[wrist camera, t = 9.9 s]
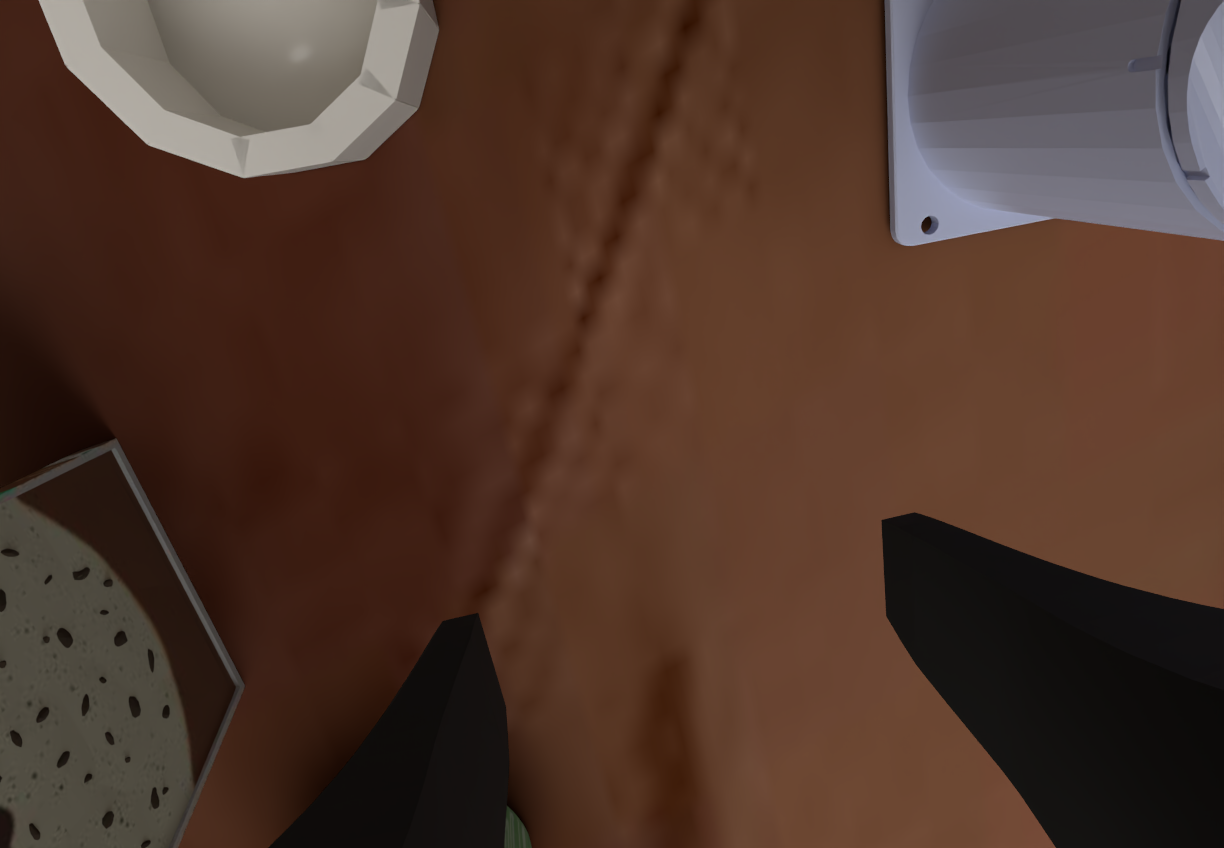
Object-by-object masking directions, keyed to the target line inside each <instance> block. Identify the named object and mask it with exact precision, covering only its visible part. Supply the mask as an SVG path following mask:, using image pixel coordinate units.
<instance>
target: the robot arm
mask: <svg viewBox="0 0 1224 848" xmlns="http://www.w3.org/2000/svg"><path fill="white" fill-rule="evenodd" d="M885 35H886V74H887V114H888V153H889V193H890V231H891V235H892V238H893V239H894V240H895V242H897V243H899V244H901V245H905V246H914V245H919V244H925V243H930V242H935V241H940V240H945V239H950V238H955V237H961V236H966V235H971V234H976V233H981V232H986V231H991V230H997V229H1002V228H1007V227H1012V226H1017V225H1022V224H1027V223H1033V222H1038V221H1043V220H1048V219H1053V218H1058V219H1066V220H1073V221H1081V222H1088V223H1096V224H1103V225H1111V226H1118V227H1126V228H1133V229H1141V230H1148V231H1156V232H1163V233H1171V234H1178V235H1186V236H1193V237H1201V238H1208V239H1216V240H1223V241H1224V0H885ZM928 216H929V217H930V218H931V221H932V223H931V227H930V228H929V230H928V231H927V232H924V233H923V232H922V229H921V224H922V221H923V220H924V219H925V218H926V217H928ZM882 539H883V559H884V579H885V599H886V616H887V618H888V620H889V621H890V623H891V625H892V626H893V628H894V630H895V631H896V633H897V635H898V637H899V638H900V640H901V642H902V643H903V645H904V646H905V648H906V650H907V651H908V653H909V654H910V656H911V657H912V659H913V661H914V662H915V664H916V665H917V666H918V668H919V669H920V670H921V671H922V673H923V674H924V675H925V676H926V678H927V679H928V680H929V681H930V683H931V684H932V685H933V686H934V688H935V689H936V690H937V691H938V693H939V694H940V695H941V696H942V698H943V699H944V700H945V701H946V702H947V704H948V705H949V706H950V707H951V709H952V710H953V711H954V712H955V713H956V715H957V716H958V717H959V718H960V720H961V721H962V722H963V723H964V724H965V726H966V727H967V728H968V729H969V730H970V732H971V733H972V734H973V735H974V737H975V738H976V739H977V740H978V741H979V743H980V744H981V745H982V746H983V748H984V749H985V750H986V751H987V752H988V754H989V755H990V756H991V757H992V759H993V760H994V761H995V762H996V763H997V765H998V766H999V767H1000V768H1001V770H1002V771H1003V772H1004V773H1005V775H1006V776H1007V777H1008V779H1009V780H1010V781H1011V783H1012V784H1013V785H1014V787H1015V788H1016V789H1017V791H1018V792H1019V793H1020V795H1021V796H1022V798H1023V799H1024V801H1025V802H1026V804H1027V805H1028V807H1029V808H1030V810H1031V811H1032V813H1033V814H1034V816H1035V817H1036V818H1037V820H1038V821H1039V823H1040V824H1041V826H1042V827H1043V829H1044V830H1045V832H1046V833H1047V835H1048V836H1049V838H1050V839H1051V841H1052V842H1053V844H1054V845H1055V847H1056V848H1224V609H1220V608H1215V607H1210V606H1205V605H1200V604H1196V603H1191V602H1187V601H1182V600H1178V599H1173V598H1169V597H1165V596H1162V595H1158V594H1154V593H1150V592H1146V591H1142V590H1138V589H1135V588H1131V587H1127V586H1123V585H1120V584H1116V583H1113V582H1109V581H1106V580H1102V579H1099V578H1096V577H1093V576H1090V575H1087V574H1084V573H1081V572H1077V571H1074V570H1071V569H1068V568H1065V567H1062V566H1059V565H1056V564H1053V563H1050V562H1048V561H1045V560H1042V559H1039V558H1036V557H1034V556H1031V555H1028V554H1025V553H1023V552H1020V551H1017V550H1015V549H1012V548H1009V547H1007V546H1004V545H1001V544H999V543H996V542H994V541H991V540H988V539H986V538H983V537H981V536H978V535H976V534H973V533H971V532H968V531H965V530H963V529H960V528H958V527H955V526H952V525H950V524H947V523H945V522H942V521H939V520H936V519H934V518H931V517H928V516H925V515H921V514H918V513H915V512H914V513H910V514H906V515H901V516H897V517H893V518H888V519H884V520H882ZM508 778H509V748H508V731H507V716H506V705H505V702H504V699H503V695H502V692H501V689H500V685H499V682H498V678H497V675H496V672H495V668H494V665H493V662H492V658H491V655H490V652H489V648H488V645H487V641H486V638H485V635H484V631H483V628H482V625H481V621H480V618H479V614H478V613H476V614H472V615H467V616H463V617H459V618H454V619H450V620H446V621H443V622H442V623H441V625H440V626H439V627H438V629H437V631H436V632H435V634H434V635H433V637H432V639H431V640H430V642H429V643H428V645H427V647H426V648H425V650H424V652H423V653H422V655H421V657H420V658H419V660H418V662H417V663H416V665H415V666H414V668H413V670H412V671H411V673H410V674H409V676H408V678H407V679H406V681H405V682H404V684H403V685H402V687H401V688H400V690H399V691H398V693H397V694H396V696H395V697H394V699H393V701H392V702H391V704H390V705H389V707H388V708H387V710H386V711H385V713H384V714H383V715H382V717H381V718H380V720H379V721H378V722H377V724H376V725H375V727H374V728H373V729H372V731H371V732H370V733H369V735H368V736H367V737H366V739H365V740H364V742H363V743H362V744H361V746H360V747H359V748H358V750H357V751H356V752H355V754H354V755H353V756H352V757H351V759H350V760H349V761H348V762H347V764H346V765H345V766H344V767H343V769H342V770H341V771H340V772H339V773H338V775H337V776H336V777H335V778H334V779H333V780H332V781H331V783H330V784H329V785H328V786H327V787H326V788H325V789H324V791H323V792H322V793H321V794H320V795H319V796H318V797H317V799H316V800H315V801H314V802H313V803H312V804H311V805H310V806H309V807H308V808H307V809H306V811H305V812H304V813H303V814H302V815H301V816H300V817H299V818H298V819H297V820H296V821H295V822H294V823H293V824H292V825H291V826H290V827H289V828H288V829H287V830H286V831H285V832H284V833H283V834H282V835H281V836H280V837H279V838H278V839H277V840H276V841H275V842H274V843H273V844H272V845H271V846H270V847H269V848H504V843H505V827H506V811H507V795H508Z"/></svg>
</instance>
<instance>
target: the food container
mask: <svg viewBox="0 0 1224 848" xmlns="http://www.w3.org/2000/svg"><path fill="white" fill-rule="evenodd" d="M244 688H245V685H244V683H243V681H242V679H241V677H240V675H239V673H238V671H237V669H236V668H235V666H234V664H233V662H232V660H231V658H230V656H229V654H228V652H227V650H226V648H225V646H224V644H223V643H222V641H221V639H220V637H219V635H218V633H217V631H216V629H215V627H214V625H213V623H212V621H211V619H210V618H209V616H208V614H207V612H206V610H205V608H204V606H203V604H202V602H201V600H200V598H199V596H198V594H197V593H196V591H195V589H194V587H193V585H192V583H191V581H190V579H189V577H188V575H187V573H186V571H185V569H184V568H183V566H182V564H181V562H180V560H179V558H178V556H177V554H176V552H175V550H174V548H173V546H172V544H171V542H170V541H169V539H168V537H167V535H166V533H165V531H164V529H163V527H162V525H161V523H160V521H159V519H158V517H157V516H156V514H155V512H154V510H153V508H152V506H151V504H150V502H149V500H148V498H147V496H146V494H145V492H144V491H143V489H142V487H141V485H140V483H139V481H138V479H137V477H136V475H135V473H134V471H133V469H132V467H131V466H130V464H129V462H128V460H127V458H126V456H125V454H124V452H123V450H122V448H121V446H120V444H119V442H118V441H117V439H116V438H115V439H112V440H109V441H106V442H103V443H100V444H97V445H94V446H91V447H88V448H85V449H82V450H79V451H77V452H75V453H73V454H71V455H69V456H67V457H64V458H62V459H60V460H58V461H56V462H54V463H52V464H50V465H48V466H46V467H44V468H42V469H39V470H37V471H35V472H33V473H31V474H29V475H27V476H25V477H23V478H21V479H19V480H17V481H14V482H12V483H10V484H8V485H6V486H4V487H2V488H0V848H178V847H179V844H180V842H181V839H182V837H183V835H184V832H185V830H186V827H187V825H188V823H189V820H190V818H191V815H192V813H193V811H194V808H195V806H196V803H197V801H198V799H199V796H200V794H201V791H202V789H203V787H204V784H205V782H206V779H207V777H208V775H209V772H210V770H211V767H212V765H213V763H214V760H215V758H216V755H217V753H218V751H219V748H220V746H221V743H222V741H223V739H224V736H225V734H226V731H227V729H228V727H229V724H230V722H231V719H232V717H233V715H234V712H235V710H236V707H237V705H238V703H239V700H240V698H241V695H242V693H243V691H244Z"/></svg>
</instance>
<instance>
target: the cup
mask: <svg viewBox="0 0 1224 848" xmlns="http://www.w3.org/2000/svg"><path fill="white" fill-rule="evenodd" d="M39 2H40V5H41V7H42V10H43V12H44V14H45V17H46V19H47V22H48V24H49V27H50V29H51V31H52V34H53V36H54V39H55V41H56V44H57V46H58V49H59V51H60V53H61V56H62V58H63V61H64V63H65V65H67V66H66V67H67V68H68V69H69V70H70V71H71V72H72V73H74V74H75V75H76V76H77V77H78V78H79V79H80V80H81V81H82V82H83V83H84V84H85V85H86V86H87V87H88V88H89V89H90V90H91V91H92V92H93V93H94V94H95V95H96V96H97V97H98V98H99V99H101V100H102V101H103V102H104V103H105V104H106V105H107V106H108V107H109V108H110V109H111V110H112V111H113V112H114V113H115V114H116V115H117V116H118V117H119V118H120V119H121V120H122V121H123V122H124V123H125V124H126V125H127V126H129V127H130V128H131V129H132V130H133V131H134V132H135V133H136V134H137V135H138V136H139V137H140V138H141V139H142V140H143V141H144V142H145V143H146V144H148V145H149V146H152V147H155V148H158V149H161V150H164V151H167V152H170V153H173V154H175V155H178V156H181V157H184V158H187V159H190V160H193V161H196V162H199V163H201V164H204V165H207V166H210V167H213V168H216V169H219V170H222V171H225V172H228V173H230V174H233V175H236V176H239V177H242V178H248V177H257V176H267V175H276V174H285V173H294V172H299V171H305V170H310V169H316V168H321V167H327V166H332V165H337V164H343V163H348V162H354V161H359V160H365V159H367V158H368V157H369V156H370V155H371V154H372V153H373V152H374V151H375V150H376V149H377V148H378V147H379V146H380V145H381V144H382V143H383V142H384V141H385V140H386V139H387V138H389V137H390V136H391V135H392V134H393V133H394V132H395V131H396V130H397V129H398V128H399V127H400V126H401V125H402V124H403V123H404V122H405V121H406V120H407V119H408V118H409V117H410V116H411V115H413V114H414V113H415V112H416V111H417V110H418V107H419V106H420V102H421V99H422V95H423V91H424V87H425V83H426V79H427V75H428V71H429V67H430V64H431V60H432V56H433V52H434V48H435V44H436V40H437V36H438V32H439V26H438V22H437V18H436V13H435V9H434V5H433V0H39Z"/></svg>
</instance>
